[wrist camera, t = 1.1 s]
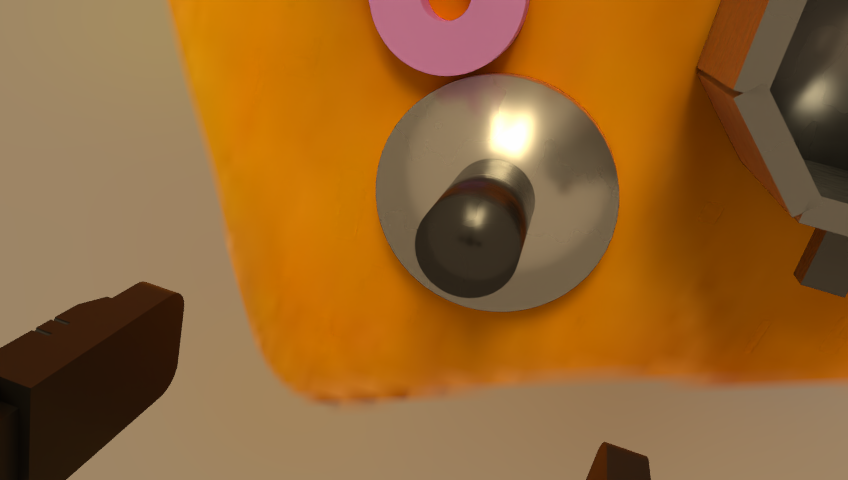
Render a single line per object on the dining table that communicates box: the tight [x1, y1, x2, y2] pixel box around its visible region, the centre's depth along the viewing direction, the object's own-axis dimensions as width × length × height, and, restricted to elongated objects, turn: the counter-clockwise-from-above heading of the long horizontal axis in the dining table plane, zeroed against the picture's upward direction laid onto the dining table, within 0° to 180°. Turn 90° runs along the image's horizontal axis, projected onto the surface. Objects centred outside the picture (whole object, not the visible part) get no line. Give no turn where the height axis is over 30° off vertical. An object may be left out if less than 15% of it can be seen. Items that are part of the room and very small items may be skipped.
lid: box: [376, 73, 619, 312], centre depth 23 cm, size 9×9×7 cm
